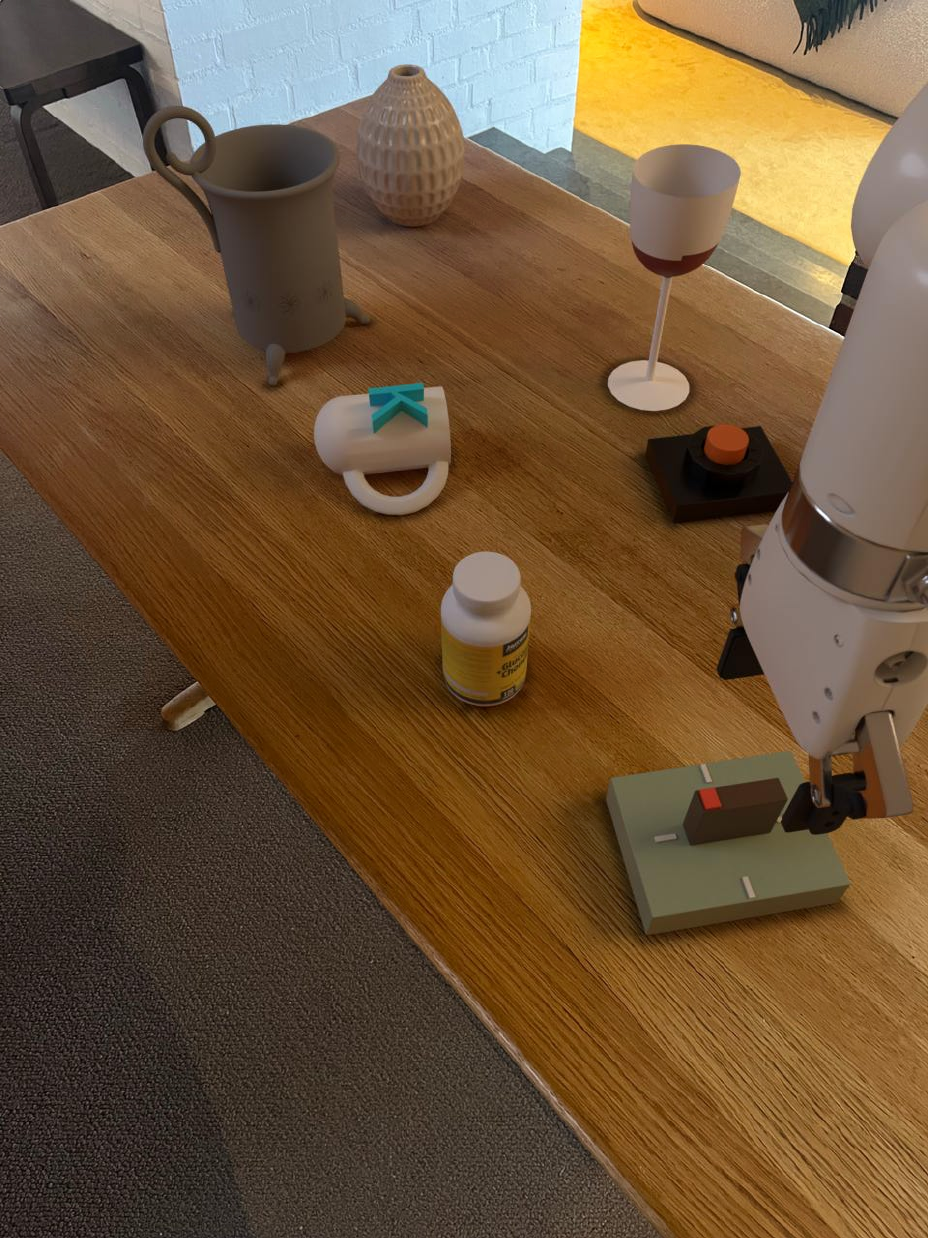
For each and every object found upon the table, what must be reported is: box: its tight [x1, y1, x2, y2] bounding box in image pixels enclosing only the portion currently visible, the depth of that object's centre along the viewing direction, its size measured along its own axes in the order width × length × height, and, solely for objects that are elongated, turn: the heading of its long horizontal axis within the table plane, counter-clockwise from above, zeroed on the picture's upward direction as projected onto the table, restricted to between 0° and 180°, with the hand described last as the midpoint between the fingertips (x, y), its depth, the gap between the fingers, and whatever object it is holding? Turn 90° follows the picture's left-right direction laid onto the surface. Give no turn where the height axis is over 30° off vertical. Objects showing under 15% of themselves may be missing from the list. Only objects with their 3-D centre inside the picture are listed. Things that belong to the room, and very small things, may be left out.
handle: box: [683, 778, 788, 846], centre depth 61 cm, size 6×2×5 cm, turn 100°
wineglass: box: [607, 143, 742, 412], centre depth 89 cm, size 9×10×22 cm
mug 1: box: [142, 105, 371, 387], centre depth 93 cm, size 19×15×25 cm
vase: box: [355, 63, 466, 228], centre depth 113 cm, size 13×13×17 cm
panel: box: [605, 750, 851, 936], centre depth 64 cm, size 13×10×3 cm
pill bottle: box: [440, 551, 532, 707], centre depth 70 cm, size 6×6×12 cm
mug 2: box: [313, 382, 452, 516], centre depth 86 cm, size 12×9×12 cm
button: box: [704, 423, 749, 465], centre depth 85 cm, size 4×4×2 cm
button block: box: [644, 424, 793, 524], centre depth 87 cm, size 11×9×4 cm
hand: (774, 743), depth 52 cm, fingers open, 9 cm apart
